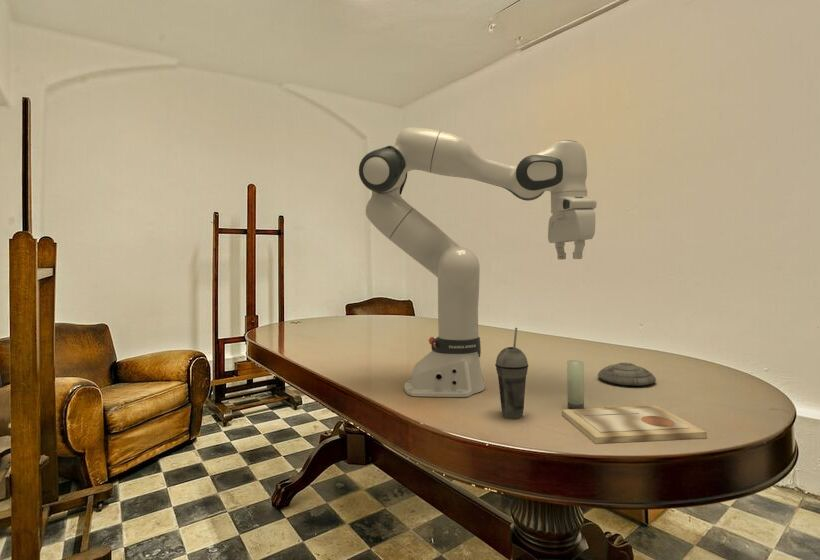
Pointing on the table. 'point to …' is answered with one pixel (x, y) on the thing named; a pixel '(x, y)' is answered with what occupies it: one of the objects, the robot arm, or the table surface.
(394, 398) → the table surface
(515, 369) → the beverage cup
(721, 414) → the table surface
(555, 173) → the robot arm
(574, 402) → the cylinder
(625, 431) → the sketch board
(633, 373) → the flying saucer
